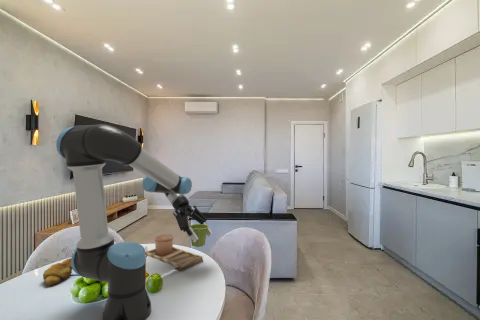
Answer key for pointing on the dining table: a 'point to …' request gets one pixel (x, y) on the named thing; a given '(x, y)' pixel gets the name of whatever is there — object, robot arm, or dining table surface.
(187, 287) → the dining table surface
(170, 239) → the pot
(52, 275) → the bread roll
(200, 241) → the plant pot
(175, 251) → the pallet
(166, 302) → the dining table surface
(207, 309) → the dining table surface
